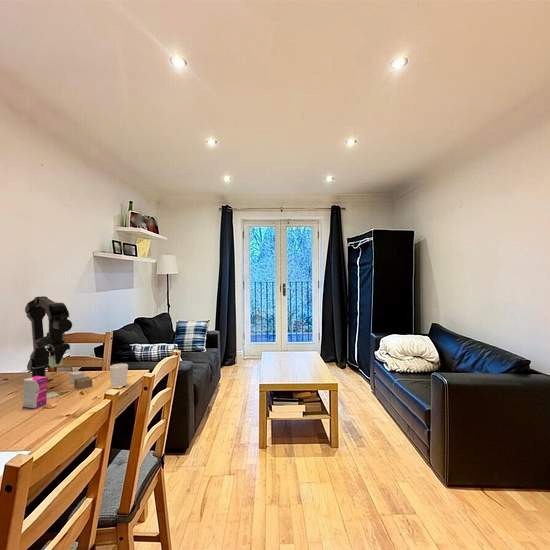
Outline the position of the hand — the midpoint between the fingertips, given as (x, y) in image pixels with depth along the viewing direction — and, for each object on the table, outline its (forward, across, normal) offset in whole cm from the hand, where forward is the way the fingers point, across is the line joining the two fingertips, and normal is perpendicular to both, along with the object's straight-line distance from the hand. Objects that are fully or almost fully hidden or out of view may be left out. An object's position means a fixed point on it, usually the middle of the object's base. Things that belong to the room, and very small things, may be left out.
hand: (55, 363), depth 154 cm
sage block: (+1, 0, 0) cm, 1 cm away
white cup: (+12, +19, +21) cm, 31 cm away
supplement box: (+12, +17, -12) cm, 24 cm away
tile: (+12, +8, -5) cm, 15 cm away
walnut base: (+12, +6, +10) cm, 17 cm away
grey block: (+12, -5, +11) cm, 17 cm away
